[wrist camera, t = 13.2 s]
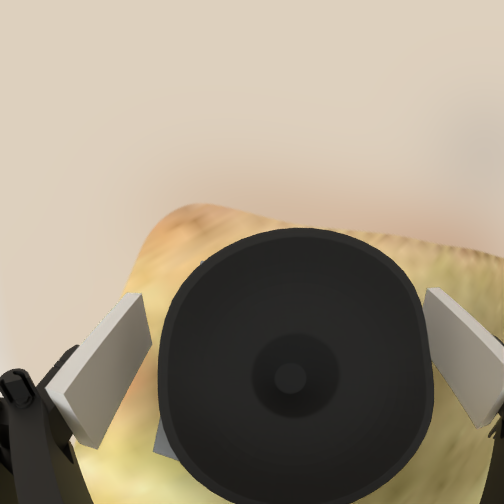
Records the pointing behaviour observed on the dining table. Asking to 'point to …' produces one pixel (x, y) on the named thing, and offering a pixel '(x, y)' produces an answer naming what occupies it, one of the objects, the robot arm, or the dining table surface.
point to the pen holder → (295, 370)
